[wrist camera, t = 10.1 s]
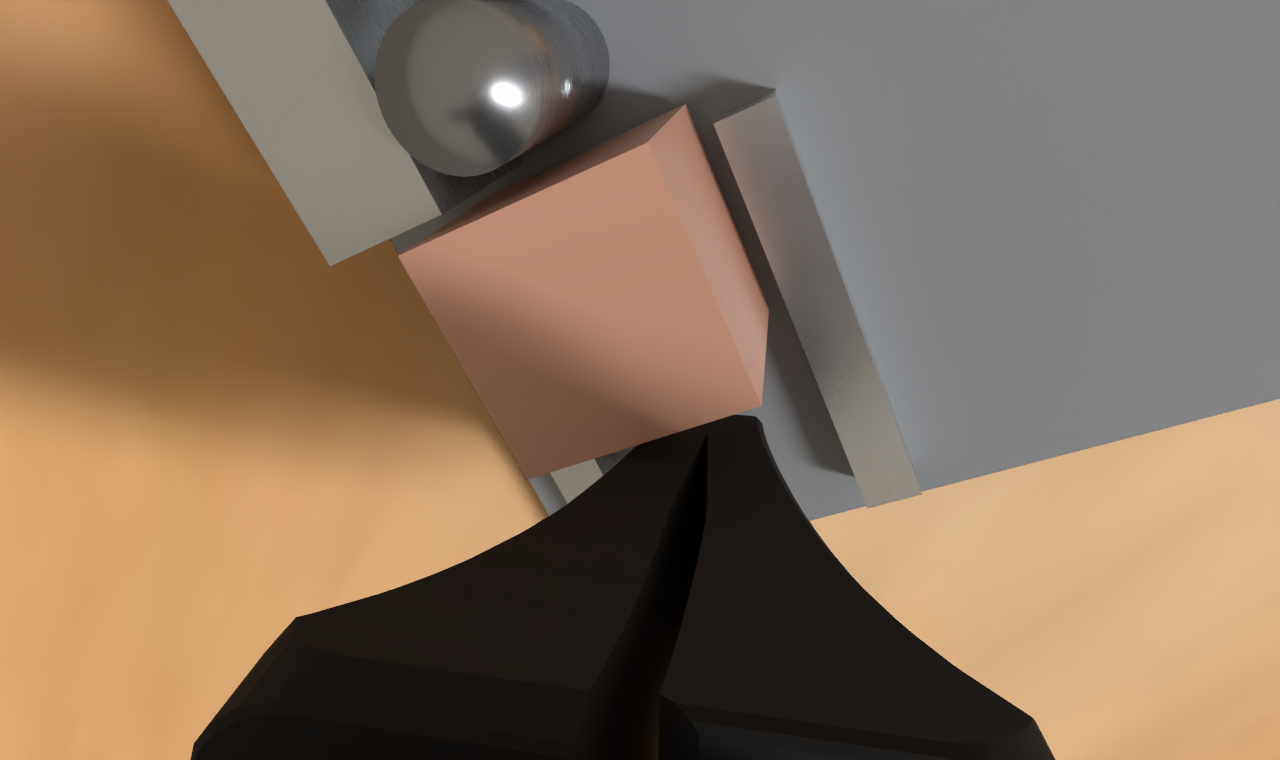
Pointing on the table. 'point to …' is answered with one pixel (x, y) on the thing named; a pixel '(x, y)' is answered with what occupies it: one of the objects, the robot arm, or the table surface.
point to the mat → (988, 209)
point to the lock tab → (601, 299)
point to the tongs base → (511, 157)
